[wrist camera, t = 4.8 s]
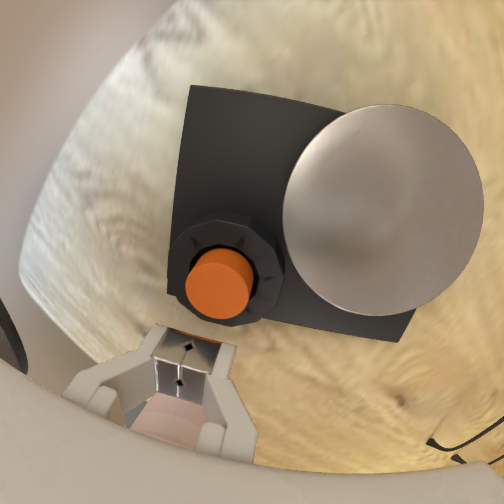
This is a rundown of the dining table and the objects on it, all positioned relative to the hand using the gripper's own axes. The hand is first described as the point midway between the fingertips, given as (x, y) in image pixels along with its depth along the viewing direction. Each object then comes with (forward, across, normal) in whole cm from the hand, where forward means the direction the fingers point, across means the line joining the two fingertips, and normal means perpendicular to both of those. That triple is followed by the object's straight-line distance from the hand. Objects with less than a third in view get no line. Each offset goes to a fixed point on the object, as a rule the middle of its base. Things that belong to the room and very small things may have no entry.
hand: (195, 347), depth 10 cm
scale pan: (+5, +7, +5) cm, 10 cm away
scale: (+8, +4, +3) cm, 10 cm away
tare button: (+5, 0, 0) cm, 5 cm away
